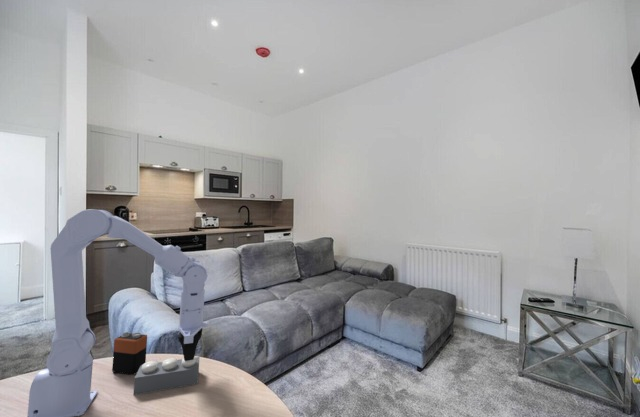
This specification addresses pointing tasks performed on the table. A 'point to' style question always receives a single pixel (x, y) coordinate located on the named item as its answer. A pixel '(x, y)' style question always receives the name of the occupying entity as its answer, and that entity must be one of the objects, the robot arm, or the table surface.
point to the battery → (129, 353)
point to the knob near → (149, 366)
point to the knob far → (188, 362)
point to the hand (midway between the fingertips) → (189, 359)
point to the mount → (166, 378)
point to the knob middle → (169, 364)
